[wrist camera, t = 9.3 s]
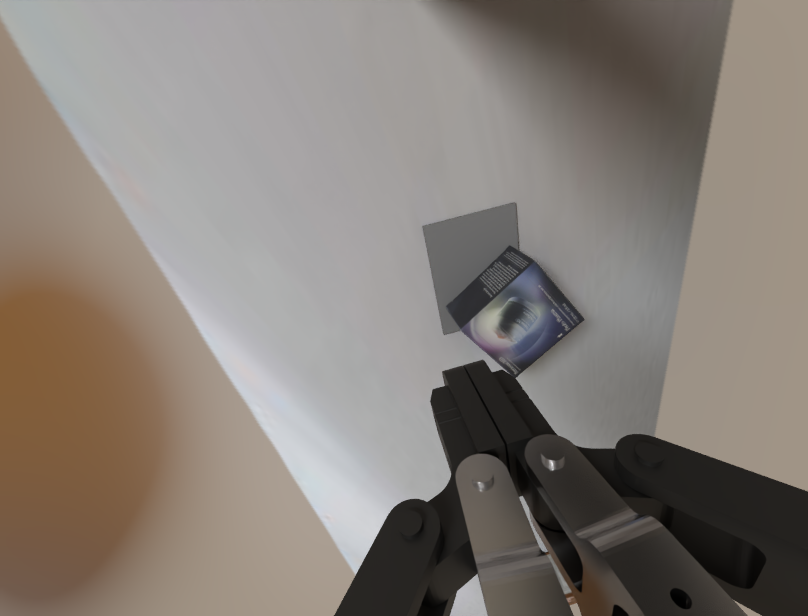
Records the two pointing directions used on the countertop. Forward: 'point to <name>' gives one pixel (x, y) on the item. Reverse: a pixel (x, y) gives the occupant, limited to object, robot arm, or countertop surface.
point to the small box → (514, 311)
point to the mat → (466, 251)
